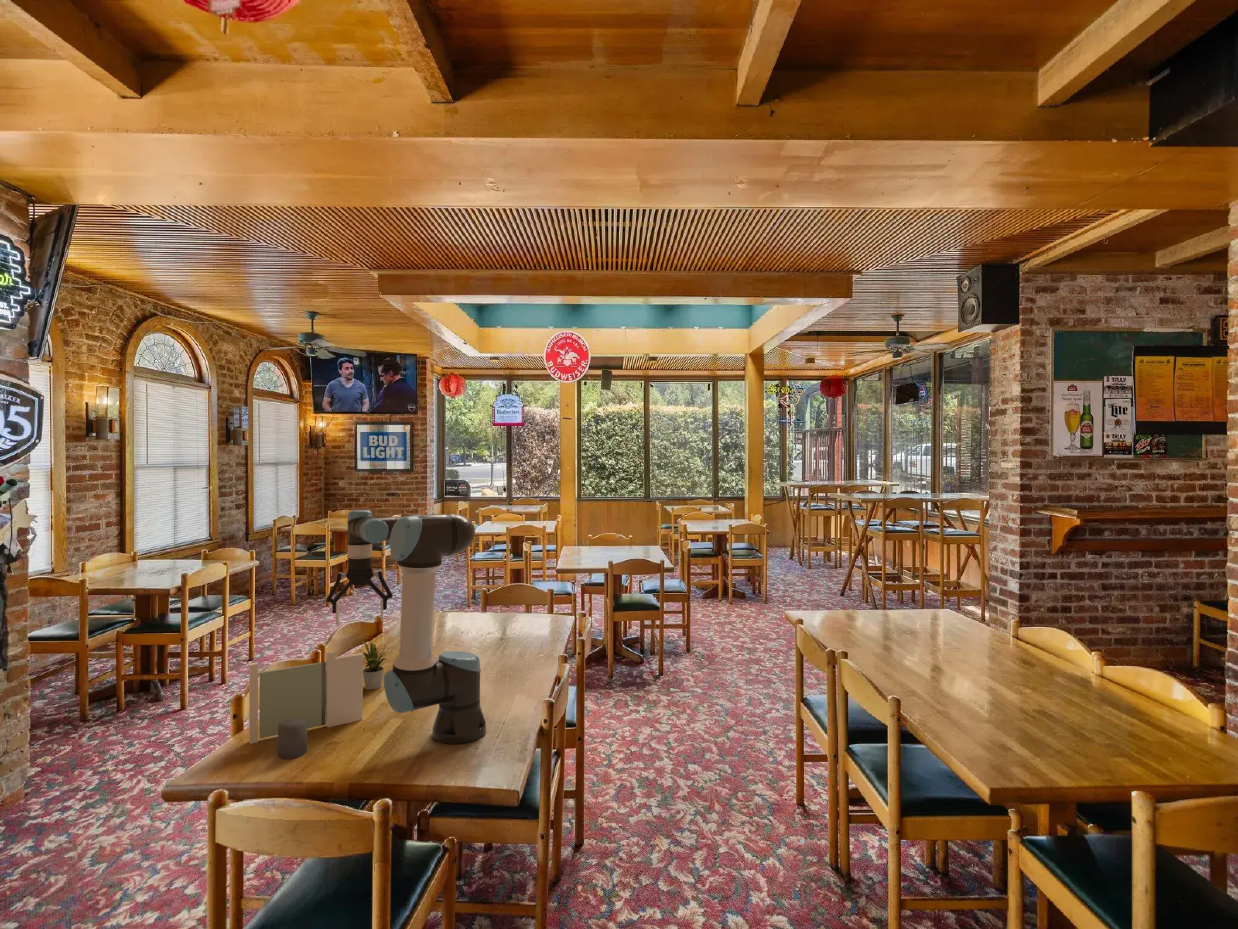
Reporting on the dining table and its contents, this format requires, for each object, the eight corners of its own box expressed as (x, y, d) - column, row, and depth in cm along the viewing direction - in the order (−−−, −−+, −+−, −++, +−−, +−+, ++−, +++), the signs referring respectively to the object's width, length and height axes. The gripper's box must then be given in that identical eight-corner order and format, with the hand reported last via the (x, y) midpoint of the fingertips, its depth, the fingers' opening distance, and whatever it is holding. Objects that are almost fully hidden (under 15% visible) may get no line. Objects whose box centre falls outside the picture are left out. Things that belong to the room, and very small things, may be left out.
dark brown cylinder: (308, 755, 172) (309, 725, 172) (279, 761, 168) (279, 731, 168) (304, 745, 178) (304, 716, 178) (276, 751, 174) (276, 722, 174)
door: (325, 724, 190) (326, 662, 190) (259, 738, 180) (260, 673, 180) (325, 723, 191) (325, 661, 191) (259, 737, 181) (259, 671, 181)
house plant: (339, 688, 223) (339, 641, 223) (374, 677, 234) (374, 633, 234) (364, 697, 215) (364, 648, 215) (399, 685, 226) (399, 639, 226)
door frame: (362, 720, 195) (362, 648, 195) (249, 744, 178) (249, 665, 178) (361, 717, 197) (361, 646, 197) (249, 741, 180) (249, 663, 180)
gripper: (399, 553, 219) (399, 615, 219) (319, 557, 211) (319, 621, 210) (400, 556, 212) (400, 620, 212) (317, 560, 203) (317, 627, 203)
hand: (360, 621), depth 211 cm, fingers open, 13 cm apart
